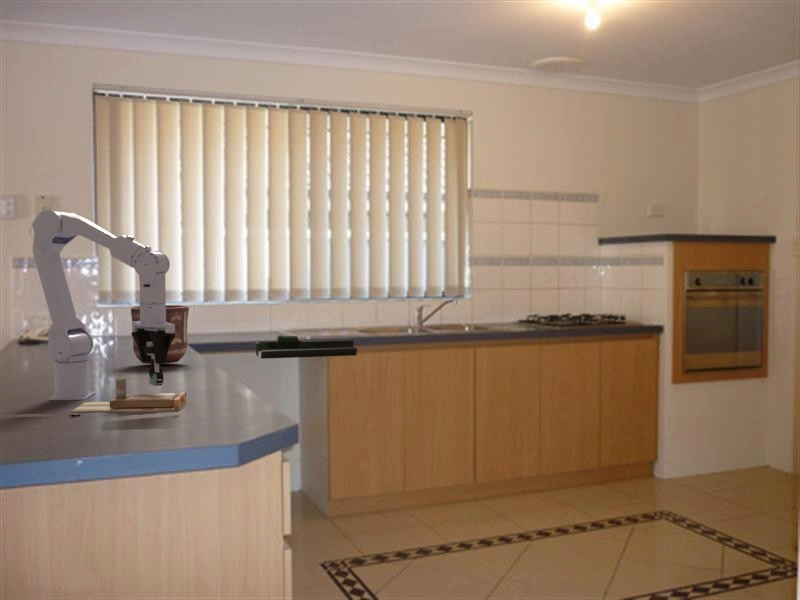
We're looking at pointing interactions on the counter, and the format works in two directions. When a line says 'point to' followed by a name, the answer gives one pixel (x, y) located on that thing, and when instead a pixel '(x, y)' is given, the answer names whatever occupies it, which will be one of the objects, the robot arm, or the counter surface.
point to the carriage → (140, 398)
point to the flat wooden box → (105, 407)
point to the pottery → (179, 343)
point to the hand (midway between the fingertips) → (153, 362)
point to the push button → (154, 366)
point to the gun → (304, 348)
